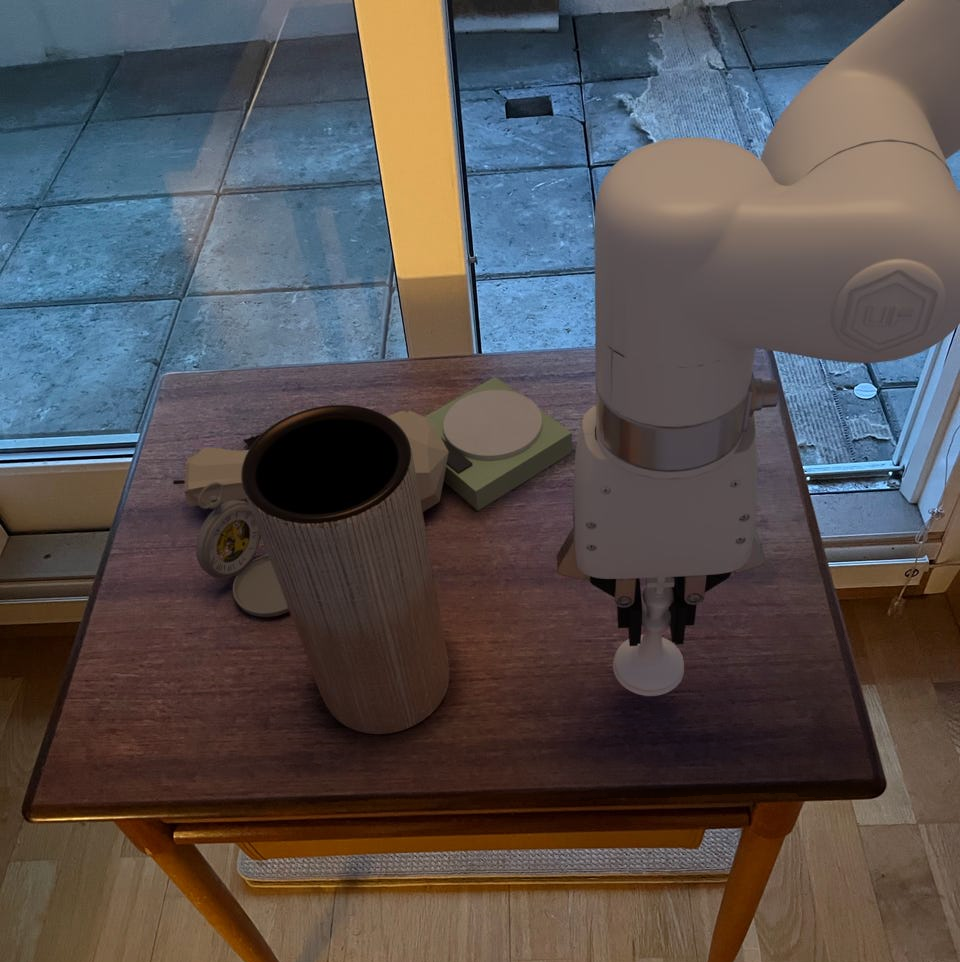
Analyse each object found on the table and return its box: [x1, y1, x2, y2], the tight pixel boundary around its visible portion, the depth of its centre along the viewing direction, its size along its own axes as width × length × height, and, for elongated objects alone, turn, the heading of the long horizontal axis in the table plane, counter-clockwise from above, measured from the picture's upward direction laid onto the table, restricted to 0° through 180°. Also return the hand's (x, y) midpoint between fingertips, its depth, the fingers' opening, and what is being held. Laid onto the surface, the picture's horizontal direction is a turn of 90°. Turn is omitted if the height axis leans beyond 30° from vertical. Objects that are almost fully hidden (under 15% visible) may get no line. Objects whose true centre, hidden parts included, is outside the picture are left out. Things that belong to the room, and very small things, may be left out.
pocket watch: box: [195, 482, 290, 618], centre depth 76 cm, size 8×8×10 cm
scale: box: [424, 376, 573, 511], centre depth 87 cm, size 11×11×3 cm
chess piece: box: [612, 577, 685, 697], centre depth 62 cm, size 5×5×10 cm
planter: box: [241, 404, 450, 735], centre depth 64 cm, size 10×10×23 cm
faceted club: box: [172, 409, 449, 513], centre depth 83 cm, size 9×8×25 cm
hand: (654, 626), depth 63 cm, fingers closed on chess piece
